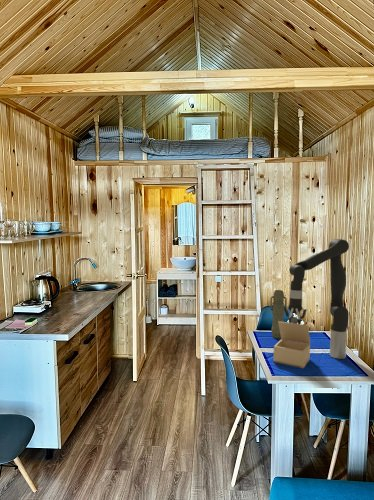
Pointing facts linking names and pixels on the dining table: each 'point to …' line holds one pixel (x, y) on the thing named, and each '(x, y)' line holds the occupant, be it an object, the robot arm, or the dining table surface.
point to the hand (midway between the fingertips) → (294, 324)
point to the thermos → (277, 311)
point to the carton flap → (294, 331)
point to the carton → (292, 353)
